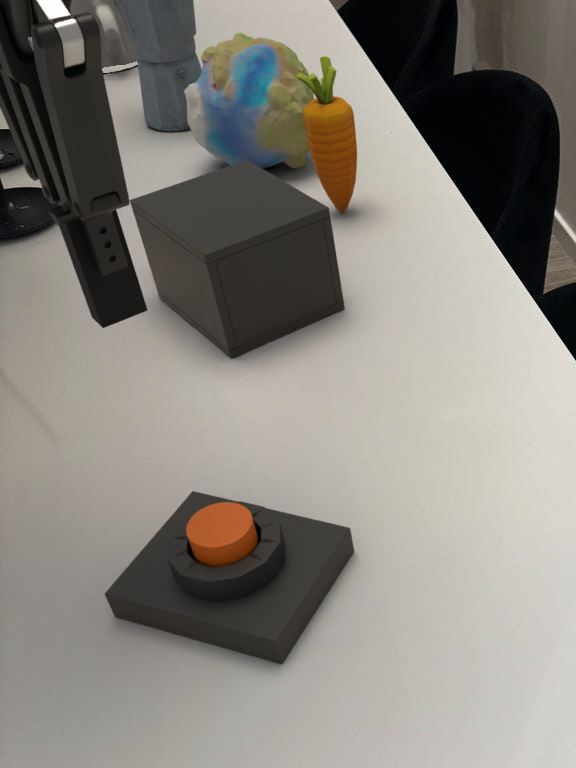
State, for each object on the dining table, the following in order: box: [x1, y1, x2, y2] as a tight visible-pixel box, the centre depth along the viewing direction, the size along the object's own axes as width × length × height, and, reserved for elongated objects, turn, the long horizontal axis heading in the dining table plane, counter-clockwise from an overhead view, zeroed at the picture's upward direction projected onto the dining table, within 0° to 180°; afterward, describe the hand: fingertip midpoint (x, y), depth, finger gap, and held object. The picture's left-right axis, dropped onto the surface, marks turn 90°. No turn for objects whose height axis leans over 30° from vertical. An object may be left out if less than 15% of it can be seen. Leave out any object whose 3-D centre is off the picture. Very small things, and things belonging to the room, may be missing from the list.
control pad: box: [104, 490, 355, 665], centre depth 61 cm, size 12×10×4 cm
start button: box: [186, 502, 258, 567], centre depth 59 cm, size 4×4×2 cm
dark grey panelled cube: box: [129, 160, 346, 359], centre depth 85 cm, size 14×12×10 cm
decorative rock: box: [184, 31, 315, 170], centre depth 107 cm, size 14×16×15 cm
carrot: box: [297, 55, 358, 213], centre depth 96 cm, size 5×5×15 cm
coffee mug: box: [70, 0, 138, 68], centre depth 134 cm, size 13×10×10 cm
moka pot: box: [114, 0, 202, 132], centre depth 115 cm, size 10×15×20 cm, turn 57°
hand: (119, 313), depth 55 cm, fingers closed
